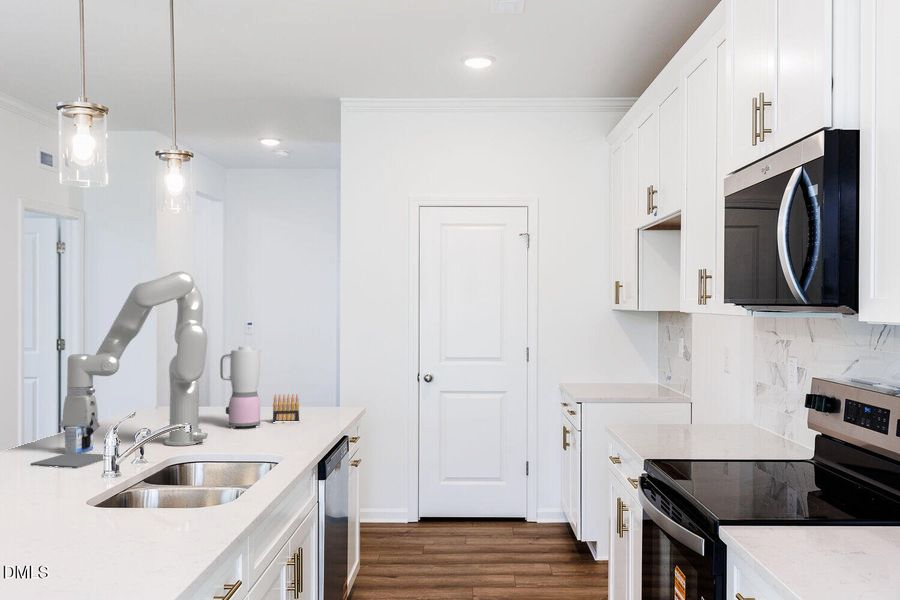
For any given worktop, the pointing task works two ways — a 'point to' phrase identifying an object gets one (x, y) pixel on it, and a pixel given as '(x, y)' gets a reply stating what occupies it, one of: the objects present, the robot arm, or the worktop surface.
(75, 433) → the medicine box
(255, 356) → the blender
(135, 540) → the worktop surface
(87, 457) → the mat
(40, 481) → the worktop surface
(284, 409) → the ammunition clip
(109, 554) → the worktop surface
